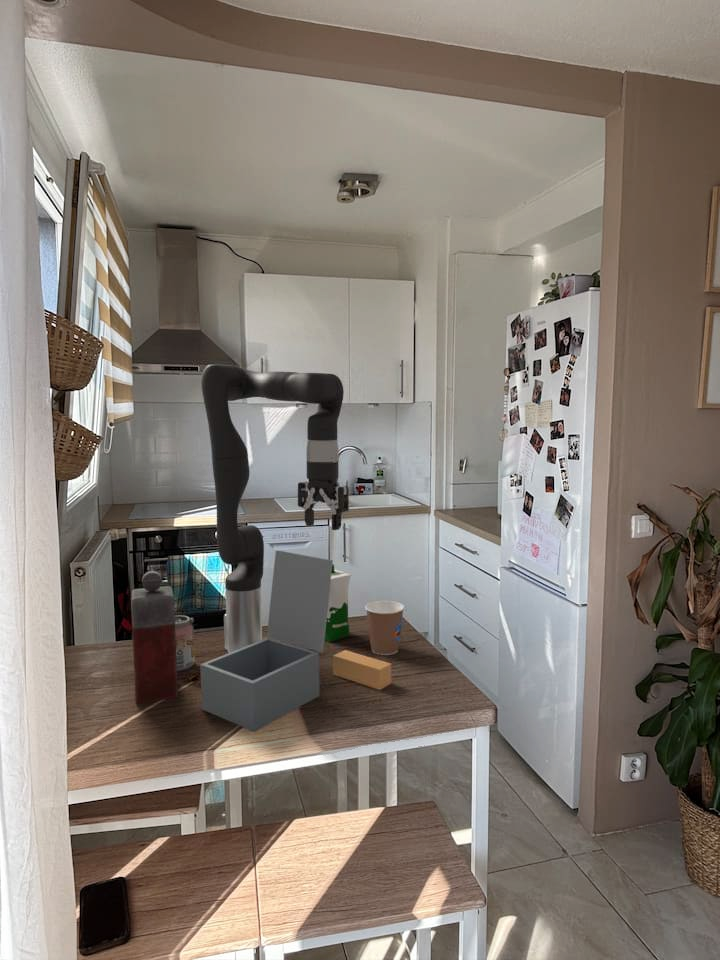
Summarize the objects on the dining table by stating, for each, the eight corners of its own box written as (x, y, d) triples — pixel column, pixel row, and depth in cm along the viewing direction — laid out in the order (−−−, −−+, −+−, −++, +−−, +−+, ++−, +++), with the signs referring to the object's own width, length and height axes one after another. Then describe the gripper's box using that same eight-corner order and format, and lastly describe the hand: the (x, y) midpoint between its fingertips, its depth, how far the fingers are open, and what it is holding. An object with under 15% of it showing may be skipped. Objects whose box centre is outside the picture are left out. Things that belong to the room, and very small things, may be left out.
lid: (275, 550, 155) (279, 550, 156) (266, 636, 154) (270, 635, 155) (329, 560, 145) (332, 560, 146) (319, 651, 144) (323, 651, 145)
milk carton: (335, 628, 190) (334, 561, 187) (354, 636, 183) (354, 567, 180) (310, 635, 184) (309, 566, 182) (329, 644, 177) (328, 572, 175)
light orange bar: (333, 675, 157) (333, 655, 157) (345, 669, 161) (344, 650, 160) (379, 690, 149) (379, 669, 148) (391, 684, 152) (391, 663, 152)
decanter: (175, 677, 156) (171, 563, 153) (177, 697, 145) (173, 574, 142) (136, 682, 153) (130, 566, 150) (135, 703, 143) (129, 578, 139)
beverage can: (159, 660, 166) (157, 615, 165) (193, 656, 169) (191, 611, 168) (161, 674, 158) (159, 626, 156) (197, 669, 161) (195, 622, 159)
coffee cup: (405, 657, 167) (405, 612, 166) (365, 657, 168) (364, 612, 166) (403, 643, 178) (403, 600, 176) (365, 643, 178) (365, 600, 176)
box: (201, 709, 140) (200, 664, 138) (268, 678, 155) (267, 637, 154) (253, 731, 130) (252, 683, 129) (319, 695, 146) (318, 652, 145)
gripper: (289, 458, 154) (289, 526, 156) (335, 462, 146) (335, 533, 148) (310, 456, 160) (310, 521, 162) (356, 459, 152) (356, 528, 154)
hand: (322, 527), depth 155 cm, fingers open, 7 cm apart
